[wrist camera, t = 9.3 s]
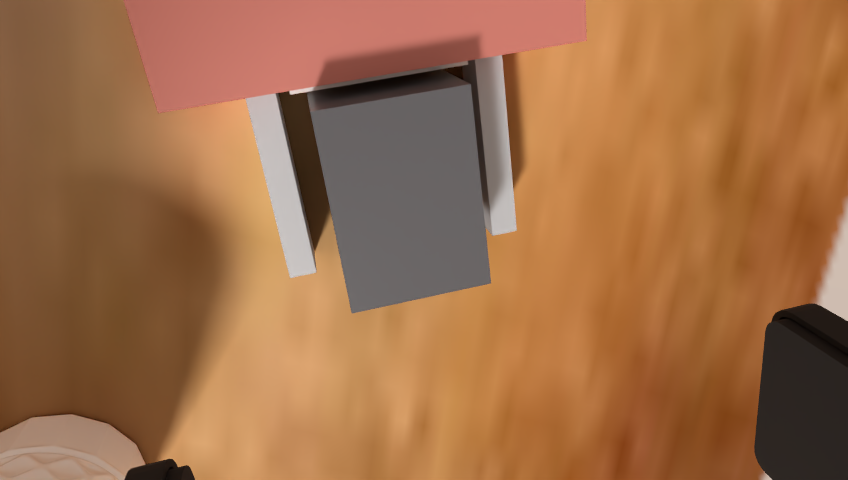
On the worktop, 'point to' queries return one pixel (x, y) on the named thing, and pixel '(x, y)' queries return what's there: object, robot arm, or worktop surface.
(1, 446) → the white cup
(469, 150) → the gray rectangular box
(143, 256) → the worktop surface
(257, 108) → the pink two-prong plug
